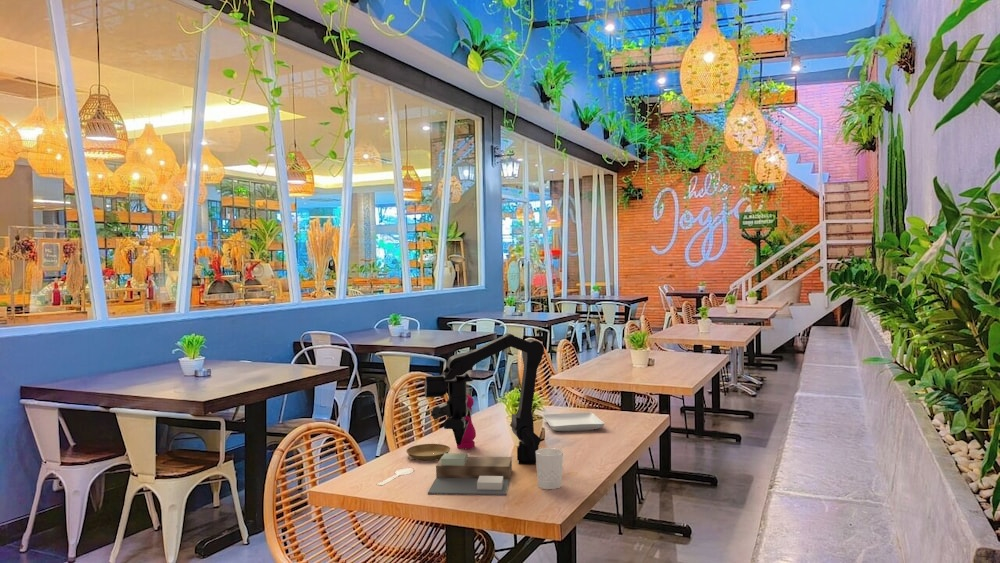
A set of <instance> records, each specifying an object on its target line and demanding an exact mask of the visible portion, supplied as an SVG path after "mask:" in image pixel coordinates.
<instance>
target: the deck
mask: <svg viewBox="0 0 1000 563" xmlns="http://www.w3.org/2000/svg"><path fill="white" fill-rule="evenodd" d="M442 457H443V456H442ZM442 457H441V458H442ZM512 458H513V457H512V456H467V461H466V463H465V465H464V466H453V465H441V459H439V460H438V462H437V463H436V465H435V472H436V474H435V476H436V477H435V479H436V478H479V476H503V479H509V481H510V480H511V474H512V472H513V470H512V469H513V468H512V467H513V466H512V464H513V463H512V462H513V460H512Z"/></svg>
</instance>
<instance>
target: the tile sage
mask: <svg viewBox="0 0 1000 563" xmlns="http://www.w3.org/2000/svg"><path fill="white" fill-rule="evenodd" d="M467 457H468V453H467V452H465V453H461V452H460V453H457V452H456V453H453V452H452V453H451V452H448V453H444V455H443V457H442V458H441V465H453V466H464V465H465V463H466V461H467Z"/></svg>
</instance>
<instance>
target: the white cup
mask: <svg viewBox="0 0 1000 563" xmlns="http://www.w3.org/2000/svg"><path fill="white" fill-rule="evenodd" d="M563 455H564V452H563V450H561V449H559V448H554V447H544V448H539V449H538V450H536V464H535V465H536V466H535V468H536V476H537V487H538V486H539V487H538V488H539V489H542V488H543V489H542V490H548V489H552V490H557V489H556V488H558V489H559V487H560V488H561V487H562V479H563V462H564V461H563V460H564V458H563V457H564V456H563Z"/></svg>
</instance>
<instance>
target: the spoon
mask: <svg viewBox="0 0 1000 563" xmlns="http://www.w3.org/2000/svg"><path fill="white" fill-rule="evenodd" d="M414 471H415V469H414V468H412V467H405V468H400V469H397V470H395V471H394V475H392V476H390V477H388V478H385V479H384V480H382V481H383V482H382V481H379V482H378V483H377V484H376V486H378V484H379V485H382V486H385V485H386V484H388V483H389V482H391V481H393V480H394V478H395V479H396V478H398V477H400V476H405V475H410V474H412V473H413V472H414ZM393 477H394V478H393ZM384 484H385V485H384Z"/></svg>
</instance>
